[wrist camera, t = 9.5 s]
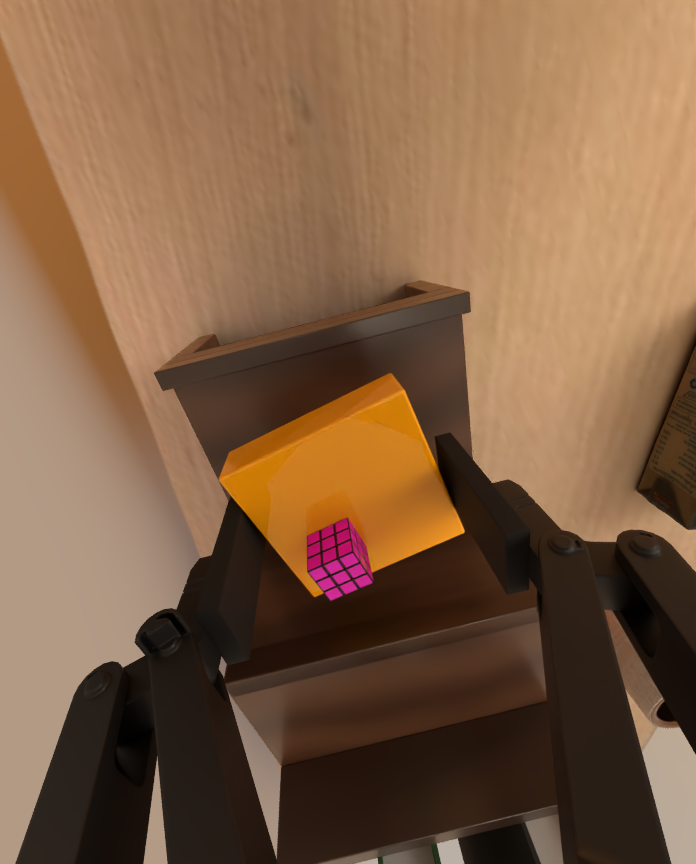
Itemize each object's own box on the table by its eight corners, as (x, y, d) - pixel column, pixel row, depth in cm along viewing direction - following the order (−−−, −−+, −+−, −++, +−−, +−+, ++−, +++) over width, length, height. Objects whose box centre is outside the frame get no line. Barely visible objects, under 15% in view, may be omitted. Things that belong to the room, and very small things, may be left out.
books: (338, 594, 38) (440, 1631, 9) (474, 571, 38) (953, 1473, 10) (362, 723, 50) (437, 1336, 22) (464, 704, 51) (666, 1274, 22)
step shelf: (198, 337, 25) (-80, 553, 7) (421, 280, 25) (724, 349, 7) (294, 564, 35) (283, 881, 17) (451, 525, 35) (599, 804, 17)
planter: (685, 597, 45) (775, 678, 36) (627, 649, 49) (694, 733, 40) (625, 580, 42) (706, 664, 33) (567, 637, 46) (627, 724, 38)
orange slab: (227, 451, 16) (203, 513, 12) (391, 371, 15) (420, 410, 11) (312, 563, 19) (314, 638, 16) (448, 503, 18) (486, 567, 15)
